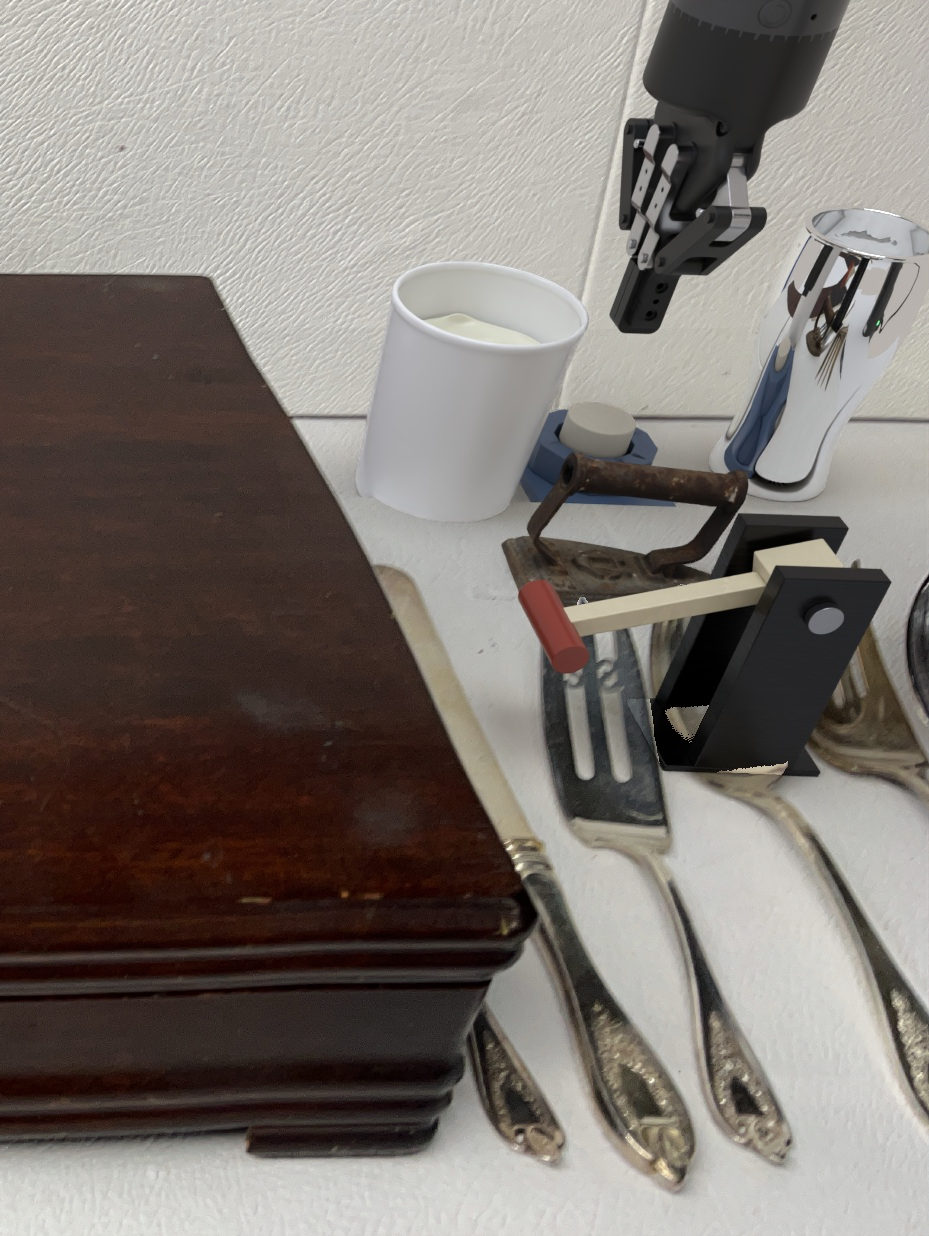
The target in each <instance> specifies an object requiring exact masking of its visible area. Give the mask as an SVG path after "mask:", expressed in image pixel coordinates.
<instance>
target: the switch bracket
mask: <svg viewBox="0 0 929 1236" xmlns="http://www.w3.org/2000/svg"><path fill="white" fill-rule="evenodd" d="M849 530H850V528H849V527H848V525H847V524H846V522H845V521H844V520H843V519H842V517H840V516H839V515H812V514H810V515H809V514H805V515H804V514H783V513H782V514H781V513H748V512H737V513H736V517H735V519H734V521H733V523H732V526H731V528H730V530H729V533H728V534H727V537H726V538H725V541H724V544H723V546H722V548H721V550H720V552H719V555H718V557H717V559H716V562H715V563H714V565H713V568H712V570H711V572H710V574H711V575H710V577H709V579H708V580H713V579H719V578H724V577H729V576H735V575H740V574H745V573H751V572H752V571H753V559H754V552H755V551H759V550H764V549H770V548H775V547H780V546H785V545H791V544H796V543H801V542H806V541H812V540H817V539H824V541H825V542H826V543H827V544H828V546H829V547H830V548H831V550H832V551H833V552H834V554H835V555H836V556H837V554H838V552H839V550H840V548H841V546H842V544H843V542H844V540H845V538H846V536H847V534H848V532H849ZM892 583H893V582H892V580H891V579H890V578H889V576H888V575H887V574H886V572H885V571H884V570H883V569H882V568H872V567H871V568H869V567H845V568H843V567H813V566H784V565H776V566H775V568H774V570H773V572H772V574H771V576H770V578H769V580H768V582H767V584H766V587H765V589H764V591H763V593H762V595H761V597H760V599H759V601H758V603H757V604H756V605H750V606H745V607H739V608H734V609H728V610H723V611H718V612H712V613H707V614H701V615H696V616H691V617H690V619H689V622H688V624H687V625H686V628H685V631H684V633H683V635H682V637H681V640H680V642H679V644H678V646H677V648H676V650H675V652H674V655H673V658H672V659H671V662H670V664H669V665H668V669H667V671H666V673H665V675H664V677H663V680H662V682H661V684H660V686H659V689H658V691H657V693H656V695H655V698H654V697H651V698H650V697H649V698H650V703H651V710H652V716H653V724H654V737H655V741H656V746H657V753H658V756H659V762H660V765H659V767H660V769H661V770H662V771H663V772H674V773H675V772H677V773H702V774H704V773H705V774H718V773H717V772H719V771H721V770H722V771H727V770H729V771H732V770H734V769H736V770H737V769H738V768H742V769H743V768H745V769H746V768H750V767H752V768H753V767H757V766H761V767H762V766H764V765H765V766H771V765H772V766H774V765H776V764H784V763H786V762H787V761H788V767H787V768H786V769H785V771H784V773H783V774H782V776H781V777H804V778H805V777H807V778H818V777H819V776H820V775H821V770H820V769H819V767H818V765H817V764H816V762H815V761H814V760H813V759H814V758H813V757H812V756H811V755H810V754H809V752H808V750H807V749H806V746H807V744H808V742H809V741H810V738H811V736H812V734H813V732H814V730H815V728H816V727H817V725H818V723H819V721H820V719H821V717H822V716H823V713H824V712H825V710H826V707H827V706H828V704H829V702H830V700H831V698H832V696H833V694H834V693H835V691H836V689H837V687H838V685H839V683H840V682H841V679H842V678H843V675H844V673H845V672H846V670H847V668H848V666H849V664H850V663H851V661H852V658H853V656H854V655H855V653H856V651H857V649H858V647H859V646H860V644H861V641H862V640H863V638H864V636H865V634H866V632H867V631H868V628H869V626H870V624H871V623H872V621H873V619H874V617H875V615H876V613H877V612H878V610H879V607H880V606H881V604H882V603H883V600H884V598H885V596H886V595H887V592H888V591H889V589H890V587H891V585H892ZM702 705H703V706H707V705H709V707H708V709H707V711H706V713H705V715H704V717H703V719H702V721H701V723H700V725H699V728H698V730H697V732H696V734H695V736H693V737H694V738H693V737H691V738H693V739H691V738H689V739H691V740H689V739H687V738H688V737H686V738H685V739H687V740H685V739H683V738H684V737H681V736H683V735H680V734H678V733H679V732H676V731H677V730H676V731H675V729H672V728H674V727H672V726H673V725H671V723H670V721H668V720H669V719H667V718H668V717H667V715H666V714H665V713H666V712H665V710H666V711H667V709H670V708H671V707H672V708H673V707H681V708H682V707H685V708H686V707H691V706H692V707H694V706H697V707H698V706H702ZM681 734H682V733H681ZM688 735H689V734H688ZM692 735H693V734H692ZM688 740H689V741H688ZM690 741H692V742H690ZM689 742H690V743H689Z"/></svg>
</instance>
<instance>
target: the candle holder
mask: <svg viewBox="0 0 929 1236" xmlns="http://www.w3.org/2000/svg"><path fill="white" fill-rule="evenodd" d="M589 324H590V317H589V312H588V310H587V308H586V306H585V305H584V303H583V302H582V301H581V300H580V299H579V297H577V296H576V295H574V294H573V293H572V292H571V291H570V290H568V289H566V288H565V287H563V286H562V285H560V284H558V283H556V282H554V281H552V280H550V279H548V278H546V277H543V276H540V275H538V274H536V273H533V272H529V271H526V270H523V269H519V268H515V267H511V266H506V265H502V264H496V263H489V262H482V261H469V260H451V261H450V260H449V261H439V262H438V261H436V262H432V263H431V262H430V263H426V264H423V265H419V266H416V267H413V268H410V269H408V270H407V271H405V272H403V273H402V274H400V275H399V276H398V278H397V279H396V280H395V281H394V283H393V285H392V288H391V291H390V303H389V309H388V313H387V318H386V323H385V328H384V332H383V336H382V337H383V338H382V341H381V347H380V352H379V357H378V361H377V366H376V370H375V375H374V379H373V383H372V384H373V385H372V389H371V393H370V399H369V404H368V408H367V413H366V418H365V423H364V427H363V432H362V437H361V442H360V447H359V452H358V457H357V462H356V468H355V474H354V475H355V476H354V482H355V488H356V490H357V493H358V494H359V496H360V497H361V498H374V499H376V500H377V501H379V502H380V503H382V504H384V505H386V506H388V507H390V508H392V509H393V510H396V511H398V512H401V513H403V514H406V515H409V516H412V517H416V518H419V519H423V520H428V521H434V522H439V523H441V522H442V523H452V524H453V523H456V524H457V523H458V524H463V523H464V524H465V523H475V522H480V521H485V520H488V519H491V518H494V517H496V516H498V515H500V514H502V513H503V512H505V510H507V508H508V507H509V506H510V504H511V502H512V500H513V498H514V496H515V493H516V491H517V489H518V487H519V484H520V480H521V478H522V475H523V473H524V471H525V469H526V466H527V464H528V462H529V459H530V457H531V455H532V452H533V450H534V448H535V445H536V443H537V441H538V438H539V436H540V434H541V431H542V429H543V427H544V424H545V422H546V420H547V417H548V415H549V413H551V410H552V408H553V406H554V403H555V401H556V398H557V396H558V394H559V391H560V390H561V387H562V384H563V382H564V380H565V377H566V375H567V373H568V371H569V369H570V366H571V364H572V362H573V360H574V357H575V355H576V352H577V350H578V347H579V345H580V343H581V341H582V339H583V337H584V336H585V334H586V333H587V331H588V327H589Z"/></svg>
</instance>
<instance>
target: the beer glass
mask: <svg viewBox="0 0 929 1236" xmlns="http://www.w3.org/2000/svg"><path fill="white" fill-rule="evenodd" d="M928 291H929V226H928V224H927V225H926V224H925V223H923V222H921V221H920V220H917V219H915V218H912V217H909V216H906V215H903V214H900V213H897V212H893V211H890V210H886V209H880V208H875V207H868V206H862V205H861V206H859V205H830V206H829V205H828V206H823V207H819V208H816V209H814V210H812V211H810V212H809V213H808V214H807V215H806V216H805V219H804V221H803V223H802V225H801V227H800V230H799V231H798V233H797V236H796V237H795V239H794V241H793V243H792V245H791V246H790V248H789V250H788V253H787V254H786V256H785V257H784V259H783V262H782V264H781V266H780V268H779V270H778V272H777V275H776V277H775V279H774V281H773V283H772V286H771V288H770V290H769V293H768V296H767V298H766V301H765V304H764V307H763V309H762V311H761V312H762V313H761V316H760V320H759V324H758V326H757V331H756V335H755V339H754V344H753V350H752V354H751V359H750V363H749V368H748V369H749V370H748V373H747V379H746V382H745V387H744V391H743V395H742V397H741V401H740V404H739V406H738V408H737V410H736V413H735V414H734V416H733V419H732V420H731V422H730V423H729V425H728V427H727V428H726V430H725V431H724V433H723V434H722V436H720V439H718V441H717V443H715V444H716V445H715V446H714V447H713V449H712V451H711V452H710V455H709V457H708V465H709V468H710V470H711V472H714V473H723V474H727V473H728V472H730V471H733V470H743V471H745V472H746V473H747V475H748V484H749V485H748V491H747V495H749V496H753V497H755V498H759V499H764V500H769V501H774V502H782V503H783V502H785V503H794V502H795V503H796V502H797V503H798V502H805V501H808V500H812V499H814V498H816V497H818V496H820V494H821V493H822V492H823V491H824V489H825V487H826V485H827V482H828V478H829V474H830V469H831V465H832V460H833V456H834V453H835V451H836V450H835V449H836V447H837V445H838V441H839V439H840V437H841V435H842V433H843V432H844V430H845V427H846V426H847V424H848V422H849V421H850V419H851V418H852V416H853V415H854V413H856V411H857V409H858V408H859V406H860V405H861V404H862V402H863V401H864V400H865V398H866V397H867V395H868V394H869V393H870V391H872V389H873V388H874V386H875V385H876V383H877V382H878V381H879V379H880V378H881V376H882V375H883V374H884V372H885V371H886V370H887V368H888V367H889V365H890V364H891V362H892V361H893V359H894V358H895V356H897V355H896V354H897V353H898V352H899V350H900V349H901V347H902V345H903V344H904V342H905V341H906V338H907V336H908V334H909V332H910V331H911V329H912V327H913V325H914V323H915V321H916V318H917V316H918V314H919V312H920V311H921V308H922V305H923V303H924V301H925V298H926V295H927V293H928Z"/></svg>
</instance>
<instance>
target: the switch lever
mask: <svg viewBox="0 0 929 1236" xmlns="http://www.w3.org/2000/svg"><path fill="white" fill-rule="evenodd" d="M776 565H784V566H813V567H843V568H846V567H845V565H844V564H843V563H842V561H841V560H840V559H839V558H838V556H837V554H836V555H835V554H834V552H833V551H832V550H831V548H830V547H829V546H828V544H827V543H826V542H825V541H824V539H817V540H812V541H806V542H801V543H796V544H791V545H785V546H780V547H775V548H770V549H764V550H759V551H755V552H754V559H753V571H752V572H751V573H745V574H740V575H735V576H729V577H724V578H719V579H713V580H708V581H703V582H698V583H692V584H687V585H682V586H676V587H671V588H666V589H660V590H655V591H650V592H644V593H639V594H634V595H628V596H623V597H618V598H612V599H607V600H602V601H597V602H591V603H586V604H581V605H575V606H570V607H565V608H564V606H563V604H562V602H561V600H560V598H559V596H558V595H557V593H556V591H555V589H554V587H553V585H552V584H551V583H550V582H548V581H545V580H534V581H531V582H529V583H527V584H525V585H524V586H523V587H522V588H521V589H520V591H519V592H517V600H518V603H519V604H520V606H521V608H522V610H523V612H524V614H525V616H526V618H527V620H528V622H529V624H530V626H531V628H532V630H533V632H534V633H535V636H536V638H537V640H538V641H539V643H540V645H541V648H542V649H543V651H544V654H545V655H546V657H547V660H548V662H549V663H550V665H551V667H552V669H553V670H554V671H556V672H557V673H560V674H568V675H569V674H573V673H576V672H579V671H580V670H582V669H583V668H584V667H585V666H586V665H587V664H588V663H589V661H590V652H589V650H588V648H587V647H586V644H585V642H584V641H583V639H582V637H588V636H592V635H598V634H603V633H609V632H615V631H619V630H624V629H625V630H626V629H631V628H635V627H642V626H646V625H647V626H648V625H652V624H657V623H664V622H667V621H669V622H670V621H674V620H680V619H684V618H691V617H692V616H696V615H701V614H707V613H712V612H718V611H723V610H728V609H734V608H739V607H745V606H750V605H756V604H757V603H758V601H759V599H760V597H761V595H762V593H763V591H764V589H765V587H766V584H767V582H768V580H769V578H770V576H771V574H772V572H773V570H774V568H775V566H776Z"/></svg>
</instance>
